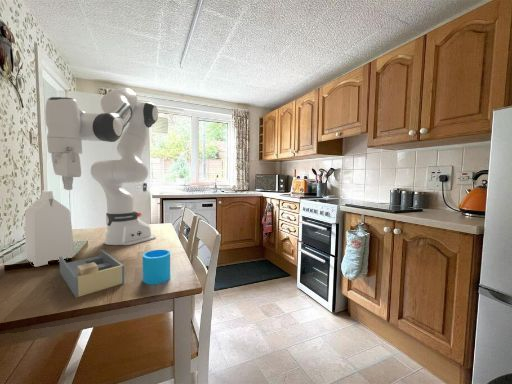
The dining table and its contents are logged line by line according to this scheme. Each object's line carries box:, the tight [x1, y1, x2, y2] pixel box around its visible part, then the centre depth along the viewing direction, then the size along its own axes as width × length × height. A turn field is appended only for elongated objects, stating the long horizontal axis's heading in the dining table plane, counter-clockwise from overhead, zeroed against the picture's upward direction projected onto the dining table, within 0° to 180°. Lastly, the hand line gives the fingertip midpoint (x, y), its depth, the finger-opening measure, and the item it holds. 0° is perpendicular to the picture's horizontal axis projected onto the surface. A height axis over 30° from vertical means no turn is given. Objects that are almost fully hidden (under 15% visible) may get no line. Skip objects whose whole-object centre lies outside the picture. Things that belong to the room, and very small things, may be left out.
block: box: [77, 262, 98, 276], centre depth 67 cm, size 4×4×4 cm
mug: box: [142, 249, 171, 285], centre depth 77 cm, size 12×8×8 cm
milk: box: [24, 189, 75, 268], centre depth 90 cm, size 12×12×26 cm
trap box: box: [58, 248, 125, 298], centre depth 75 cm, size 12×22×6 cm, turn 48°
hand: (68, 189), depth 80 cm, fingers closed
